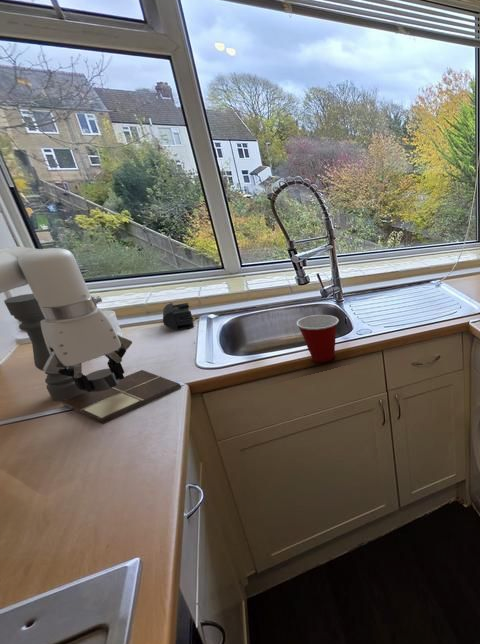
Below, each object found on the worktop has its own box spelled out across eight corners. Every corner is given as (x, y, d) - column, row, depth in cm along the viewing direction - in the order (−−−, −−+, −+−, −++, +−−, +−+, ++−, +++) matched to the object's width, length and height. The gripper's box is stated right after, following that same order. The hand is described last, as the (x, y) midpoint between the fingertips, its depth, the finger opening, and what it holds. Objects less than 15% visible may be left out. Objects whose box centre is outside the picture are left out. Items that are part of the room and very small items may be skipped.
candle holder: (92, 391, 100) (48, 296, 90) (57, 403, 95) (6, 305, 85) (82, 383, 103) (39, 291, 93) (48, 395, 98) (-2, 299, 88)
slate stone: (96, 394, 88) (91, 382, 87) (84, 388, 90) (78, 377, 89) (124, 382, 92) (119, 371, 91) (111, 377, 94) (106, 366, 93)
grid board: (102, 424, 89) (100, 419, 88) (64, 405, 95) (61, 401, 94) (181, 387, 102) (179, 383, 102) (143, 373, 108) (141, 369, 108)
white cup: (127, 337, 127) (115, 308, 123) (126, 347, 121) (114, 316, 117) (92, 344, 122) (79, 314, 118) (89, 354, 117) (75, 323, 113)
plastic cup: (350, 358, 118) (344, 320, 113) (311, 370, 111) (304, 331, 107) (335, 345, 125) (329, 309, 121) (298, 356, 118) (290, 319, 114)
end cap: (167, 323, 138) (160, 304, 135) (192, 318, 142) (187, 300, 139) (166, 333, 130) (160, 314, 128) (194, 328, 134) (188, 309, 132)
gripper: (110, 293, 92) (138, 363, 100) (1, 321, 78) (43, 400, 85) (129, 298, 90) (156, 370, 97) (20, 328, 75) (61, 409, 82)
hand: (103, 383), depth 91 cm, fingers closed on slate stone, 5 cm apart
